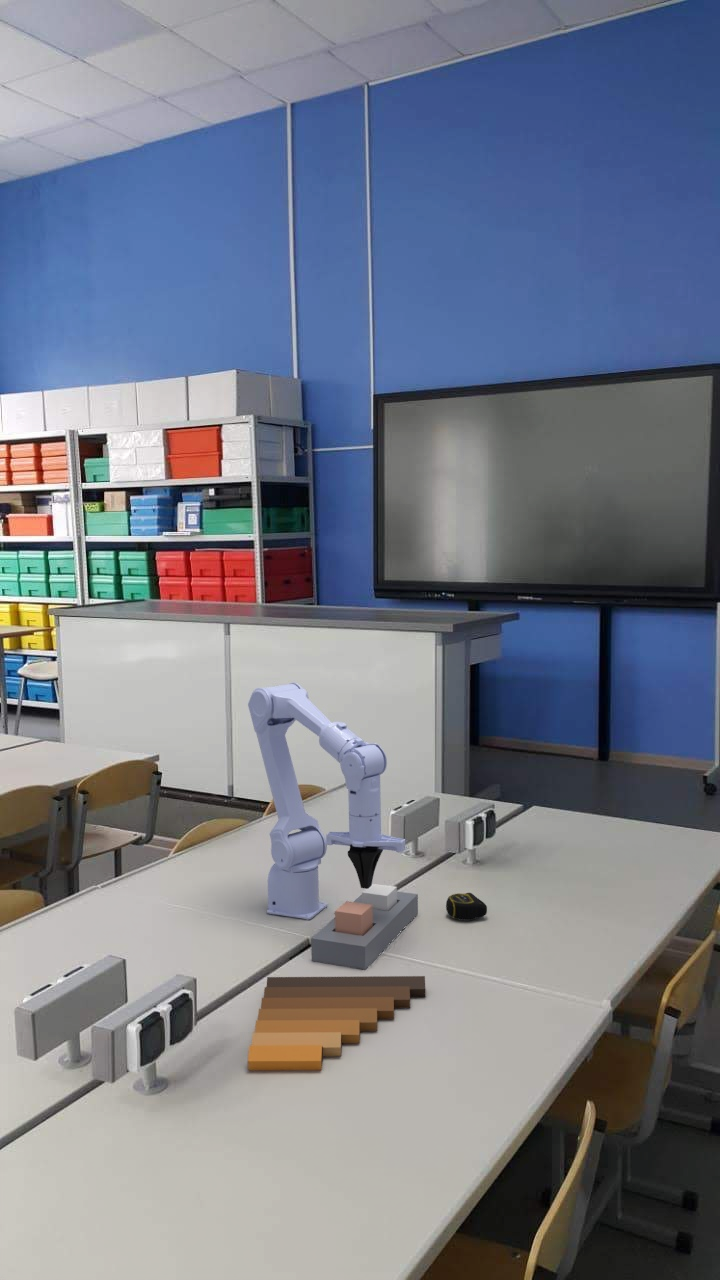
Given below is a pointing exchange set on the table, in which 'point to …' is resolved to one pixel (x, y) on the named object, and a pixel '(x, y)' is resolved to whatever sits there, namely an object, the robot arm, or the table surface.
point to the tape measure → (465, 906)
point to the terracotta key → (354, 918)
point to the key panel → (364, 948)
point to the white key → (380, 897)
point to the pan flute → (322, 1016)
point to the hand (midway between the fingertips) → (366, 886)
